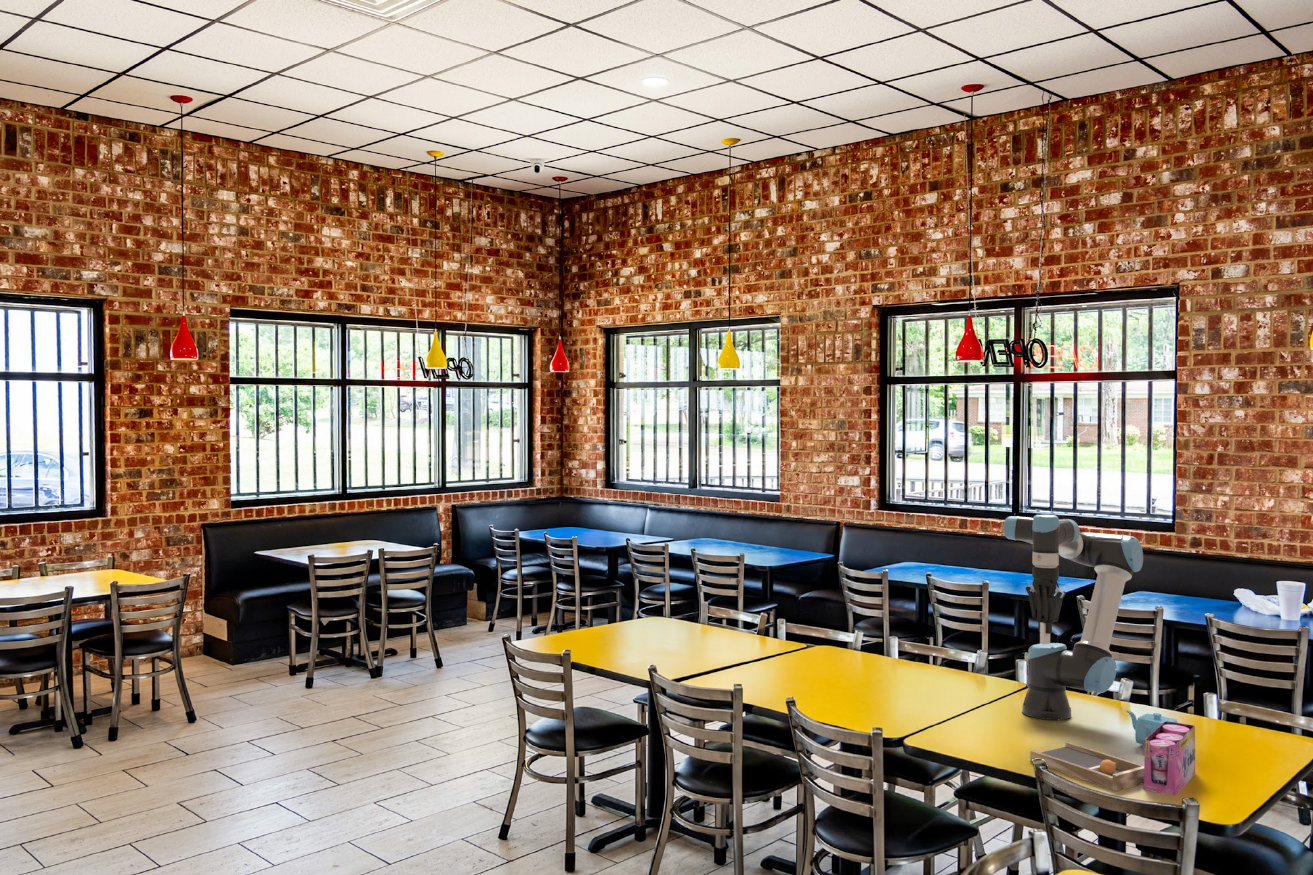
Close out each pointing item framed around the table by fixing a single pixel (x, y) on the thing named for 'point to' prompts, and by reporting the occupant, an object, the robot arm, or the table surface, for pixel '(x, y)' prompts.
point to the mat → (1079, 758)
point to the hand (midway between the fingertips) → (1045, 643)
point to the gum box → (1169, 758)
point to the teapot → (1147, 725)
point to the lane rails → (1118, 781)
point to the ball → (1107, 767)
